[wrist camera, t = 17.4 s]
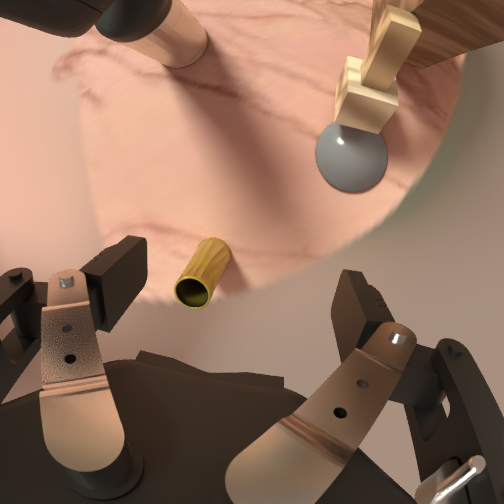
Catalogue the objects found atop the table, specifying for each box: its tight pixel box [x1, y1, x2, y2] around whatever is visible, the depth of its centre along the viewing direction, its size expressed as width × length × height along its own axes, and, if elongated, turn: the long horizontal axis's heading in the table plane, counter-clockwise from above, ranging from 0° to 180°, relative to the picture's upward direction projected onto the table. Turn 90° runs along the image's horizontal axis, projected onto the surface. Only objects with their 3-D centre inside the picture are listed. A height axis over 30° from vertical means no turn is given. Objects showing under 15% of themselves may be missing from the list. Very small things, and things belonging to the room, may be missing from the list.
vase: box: [174, 238, 231, 310], centre depth 47 cm, size 6×6×14 cm
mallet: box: [334, 4, 422, 134], centre depth 30 cm, size 20×7×7 cm
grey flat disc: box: [315, 122, 388, 192], centre depth 44 cm, size 12×12×1 cm
